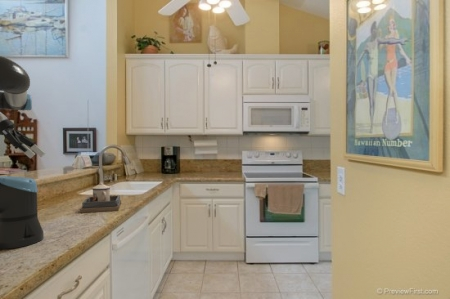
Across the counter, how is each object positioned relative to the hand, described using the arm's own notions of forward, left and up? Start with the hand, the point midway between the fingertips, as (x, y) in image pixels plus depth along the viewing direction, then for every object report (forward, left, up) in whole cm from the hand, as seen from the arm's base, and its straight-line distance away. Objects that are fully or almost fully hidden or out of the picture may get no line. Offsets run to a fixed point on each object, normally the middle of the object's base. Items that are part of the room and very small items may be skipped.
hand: (38, 155), depth 136 cm
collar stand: (+13, -27, -30) cm, 42 cm away
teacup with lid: (+14, -26, -28) cm, 41 cm away
